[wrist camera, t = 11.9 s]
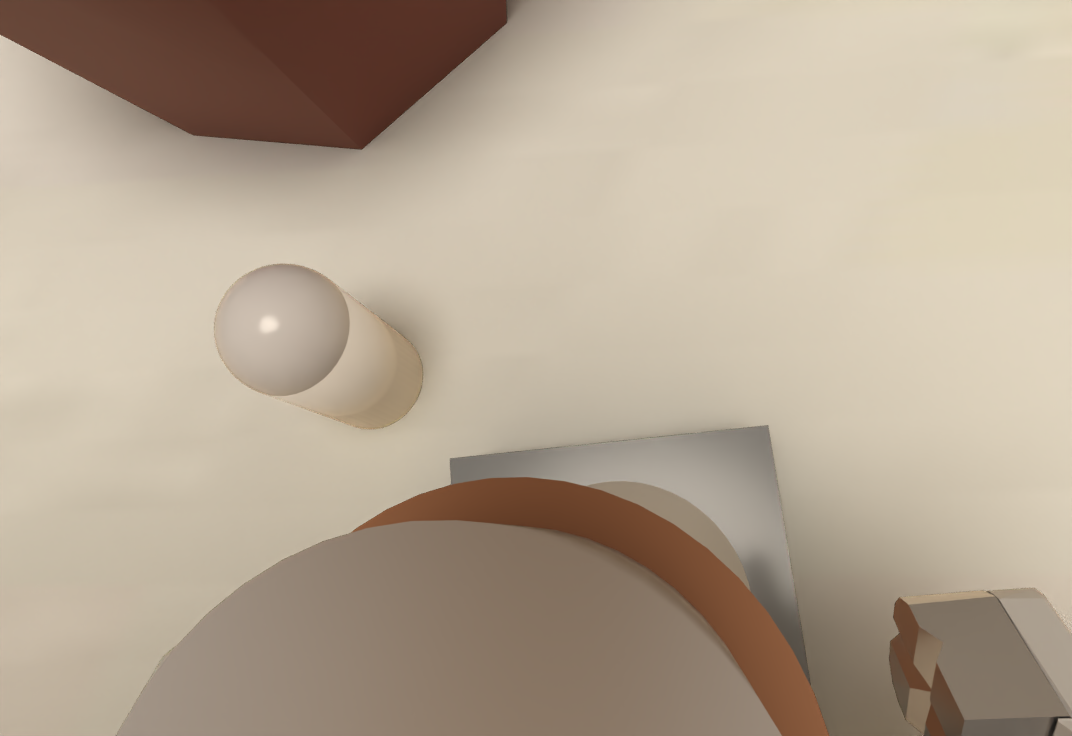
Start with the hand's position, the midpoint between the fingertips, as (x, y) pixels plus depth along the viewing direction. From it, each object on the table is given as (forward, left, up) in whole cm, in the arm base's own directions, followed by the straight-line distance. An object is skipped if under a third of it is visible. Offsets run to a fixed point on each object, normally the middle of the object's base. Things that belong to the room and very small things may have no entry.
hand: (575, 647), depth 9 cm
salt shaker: (-8, +8, -13) cm, 17 cm away
